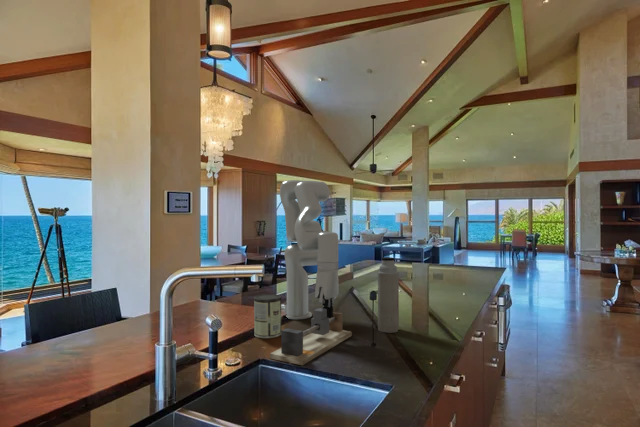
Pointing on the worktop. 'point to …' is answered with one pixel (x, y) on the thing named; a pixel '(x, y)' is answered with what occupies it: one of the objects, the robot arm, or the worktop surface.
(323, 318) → the sleeve
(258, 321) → the coffee can
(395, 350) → the worktop surface
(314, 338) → the rail
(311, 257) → the robot arm
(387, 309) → the thermos bottle
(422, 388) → the worktop surface
